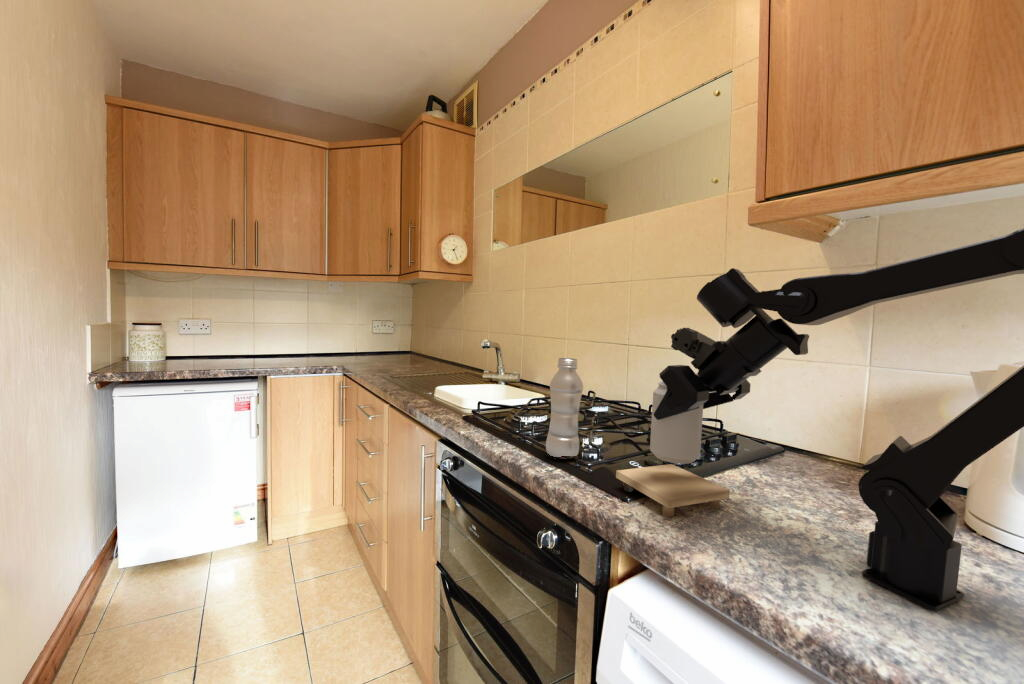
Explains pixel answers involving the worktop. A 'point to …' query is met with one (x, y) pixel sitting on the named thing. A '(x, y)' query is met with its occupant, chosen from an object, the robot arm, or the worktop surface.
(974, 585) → the worktop surface
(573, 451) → the plastic bottle
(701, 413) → the can
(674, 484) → the small wooden stand
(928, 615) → the worktop surface
